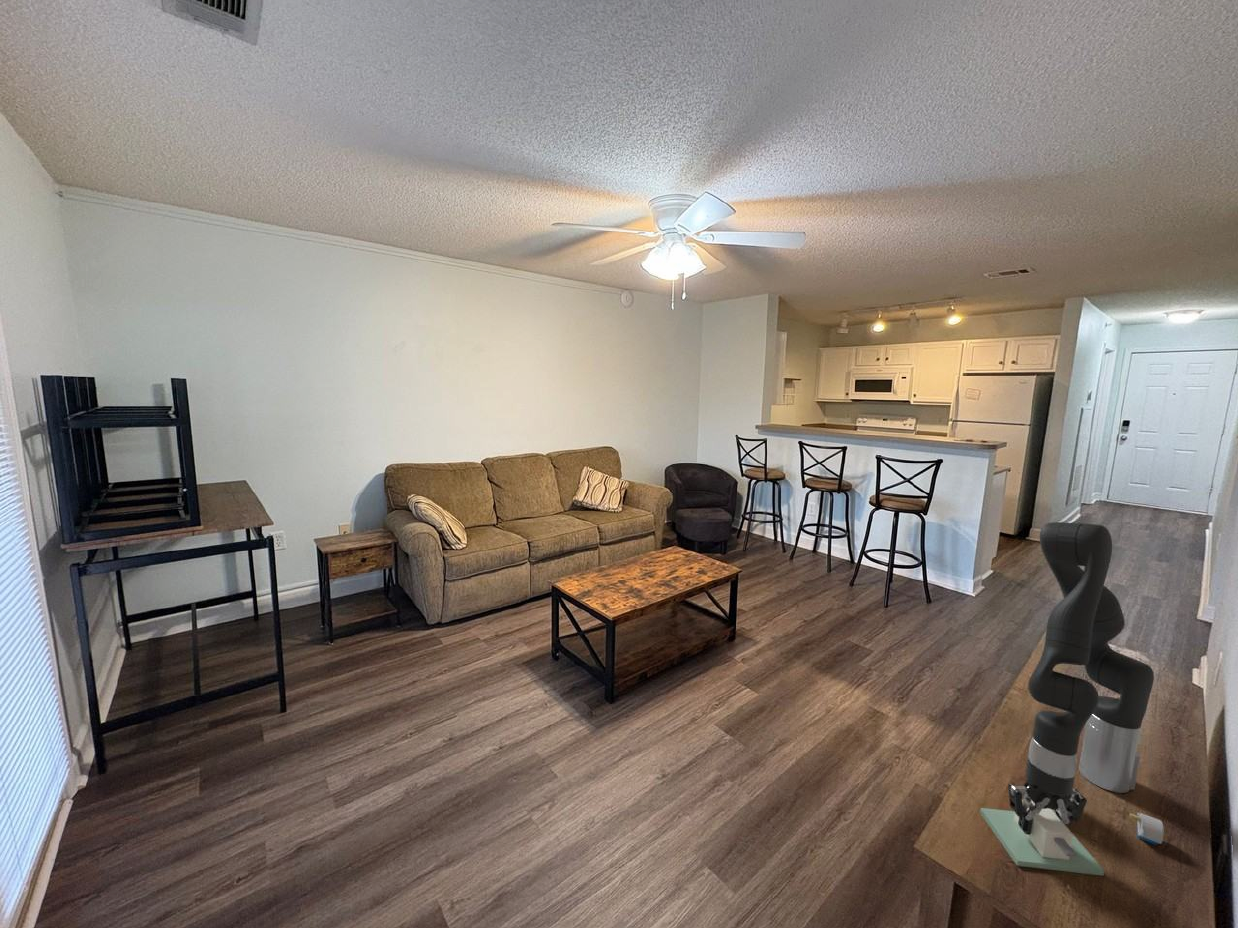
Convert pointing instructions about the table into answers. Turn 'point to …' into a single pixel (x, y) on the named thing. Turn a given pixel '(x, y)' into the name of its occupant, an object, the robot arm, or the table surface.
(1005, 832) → the board
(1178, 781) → the table surface
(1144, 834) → the electric motor
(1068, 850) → the plug housing
